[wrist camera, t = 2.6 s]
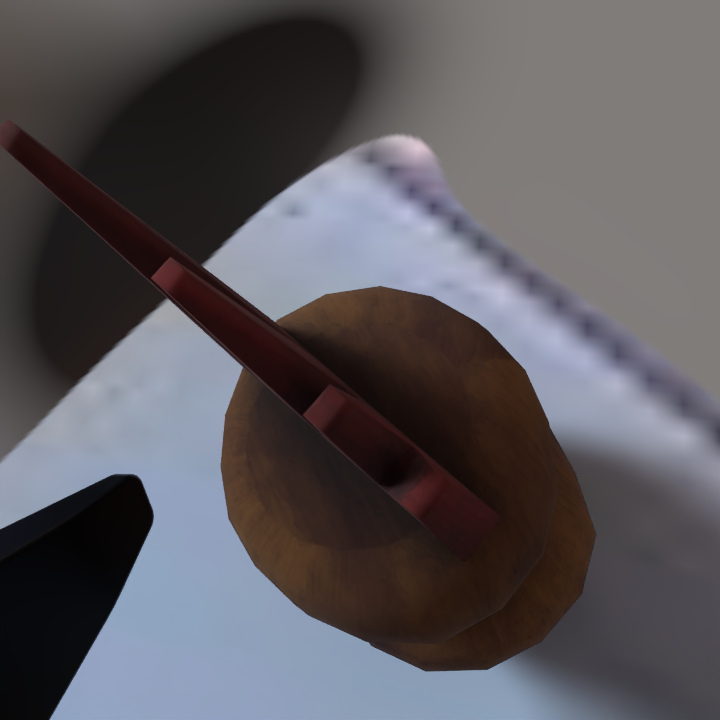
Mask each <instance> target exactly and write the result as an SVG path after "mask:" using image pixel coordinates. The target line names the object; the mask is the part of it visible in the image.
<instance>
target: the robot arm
mask: <svg viewBox="0 0 720 720" xmlns="http://www.w3.org/2000/svg"><path fill="white" fill-rule="evenodd" d="M153 518H154V514H153V509H152V507H151V504H150V501H149V499H148V496H147V494H146V491H145V489H144V486H143V483H142V481H141V479H140V478H139V477H138V476H136V475H134V474H114V475H111V476H109V477H107V478H105V479H103V480H101V481H99V482H97V483H94V484H92V485H90V486H88V487H86V488H84V489H82V490H80V491H78V492H76V493H74V494H72V495H70V496H68V497H66V498H64V499H62V500H60V501H58V502H56V503H53V504H51V505H49V506H47V507H45V508H43V509H41V510H39V511H37V512H35V513H33V514H31V515H29V516H27V517H25V518H23V519H21V520H19V521H17V522H15V523H12V524H10V525H8V526H6V527H4V528H2V529H0V720H50V718H51V716H52V715H53V713H54V711H55V709H56V708H57V706H58V704H59V702H60V701H61V699H62V697H63V695H64V694H65V692H66V690H67V689H68V687H69V685H70V683H71V682H72V680H73V678H74V676H75V675H76V673H77V671H78V669H79V668H80V666H81V664H82V662H83V661H84V659H85V657H86V655H87V654H88V652H89V650H90V648H91V647H92V645H93V643H94V642H95V640H96V638H97V636H98V635H99V633H100V631H101V629H102V628H103V626H104V624H105V622H106V621H107V619H108V617H109V615H110V613H111V612H112V610H113V608H114V606H115V604H116V602H117V600H118V598H119V596H120V594H121V592H122V590H123V587H124V585H125V583H126V581H127V579H128V577H129V574H130V572H131V570H132V568H133V566H134V564H135V561H136V559H137V557H138V555H139V553H140V551H141V549H142V546H143V544H144V542H145V540H146V538H147V536H148V533H149V531H150V529H151V527H152V524H153Z"/></svg>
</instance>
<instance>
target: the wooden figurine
mask: <svg viewBox="0 0 720 720" xmlns="http://www.w3.org/2000/svg"><path fill="white" fill-rule="evenodd" d="M0 146H1V147H2V148H4V149H5V150H6V151H7V152H8V153H9V154H10V155H11V156H12V157H13V158H15V159H16V160H17V161H18V162H19V163H20V164H21V165H22V166H24V167H25V168H26V169H27V170H28V171H29V172H30V173H31V174H32V175H33V176H34V177H35V178H36V179H38V180H39V181H40V182H41V183H42V184H43V185H44V186H45V187H46V188H47V189H48V190H50V191H51V192H52V193H53V194H54V195H55V196H56V197H57V198H58V199H59V200H61V201H62V202H63V203H64V204H65V205H66V206H67V207H68V208H69V209H71V211H73V212H74V213H75V214H76V215H77V216H78V217H79V218H80V219H81V220H82V221H84V222H85V223H86V224H87V225H88V226H89V227H90V228H91V229H92V230H93V231H95V232H96V233H97V234H98V235H99V236H100V237H101V238H102V239H103V240H104V241H105V242H107V243H108V244H109V245H110V246H111V247H112V248H113V249H114V250H115V251H116V252H118V253H119V254H120V255H121V256H122V257H123V258H124V259H125V260H126V261H127V262H128V263H130V264H131V265H132V266H133V267H134V268H135V269H136V270H137V271H138V272H139V273H141V274H142V275H143V276H144V277H145V278H146V279H147V280H148V281H149V282H151V284H153V285H154V286H155V287H156V288H157V289H158V290H159V291H160V292H161V293H163V294H164V295H165V296H166V297H167V298H168V299H169V300H170V301H171V302H172V303H173V304H175V305H176V306H177V307H178V308H179V309H180V310H181V311H182V312H183V313H184V314H185V315H187V316H188V317H189V318H190V319H191V320H192V321H193V322H194V323H195V324H196V325H198V326H199V327H200V328H201V329H202V330H203V331H204V332H205V333H206V334H207V335H208V336H210V337H211V338H212V339H213V340H214V341H215V342H216V343H217V344H218V345H219V346H221V347H222V348H223V349H224V350H225V351H226V352H227V353H228V354H229V355H230V356H232V357H233V358H234V359H235V360H236V361H237V362H238V363H239V364H240V365H241V366H243V369H242V372H241V374H240V377H239V380H238V382H237V385H236V388H235V390H234V393H233V396H232V398H231V401H230V404H229V406H228V409H227V412H226V414H225V424H224V435H223V446H222V457H221V472H222V479H223V485H224V492H225V498H226V505H227V511H228V518H229V520H230V522H231V524H232V526H233V528H234V529H235V531H236V533H237V535H238V537H239V538H240V540H241V542H242V544H243V545H244V547H245V549H246V551H247V553H248V554H249V556H250V558H251V560H252V561H253V563H254V565H255V566H256V567H257V568H258V569H259V570H260V571H261V572H262V573H263V574H264V575H265V576H266V577H267V578H268V579H269V580H270V581H271V582H272V583H273V584H274V585H275V586H276V587H277V588H278V589H279V590H280V591H281V592H282V593H283V594H284V595H285V596H286V597H288V598H289V599H290V600H291V601H292V602H293V603H294V604H295V605H296V606H297V607H298V608H300V609H301V610H302V611H303V612H305V613H306V614H307V615H309V616H311V617H313V618H315V619H317V620H320V621H322V622H324V623H326V624H328V625H331V626H333V627H335V628H337V629H339V630H342V631H344V632H346V633H348V634H350V635H353V636H355V637H357V638H359V639H362V640H364V641H366V642H369V643H370V645H371V646H373V647H375V648H377V649H379V650H381V651H383V652H386V653H388V654H390V655H392V656H394V657H396V658H398V659H400V660H403V661H405V662H407V663H409V664H411V665H413V666H415V667H417V668H420V669H422V670H424V671H460V670H488V669H490V668H492V667H494V666H495V665H497V664H499V663H501V662H503V661H505V660H507V659H509V658H511V657H513V656H515V655H517V654H519V653H520V652H522V651H524V650H526V649H528V648H530V647H532V646H534V645H536V644H538V643H540V642H541V641H542V640H543V639H544V638H545V636H546V635H547V634H548V633H549V632H550V631H551V629H552V628H553V627H554V626H555V625H556V624H557V622H558V621H559V620H560V619H561V618H562V617H563V615H564V614H565V613H566V612H567V611H568V609H569V608H570V607H571V606H572V605H573V604H574V602H575V601H576V600H577V599H578V598H579V597H580V595H581V594H582V591H583V586H584V582H585V578H586V574H587V570H588V566H589V562H590V558H591V554H592V550H593V546H594V541H595V537H596V533H595V530H594V527H593V524H592V521H591V518H590V515H589V512H588V509H587V506H586V503H585V500H584V497H583V495H582V492H581V489H580V486H579V483H578V480H577V477H576V474H575V472H574V470H573V468H572V466H571V465H570V463H569V461H568V459H567V457H566V456H565V454H564V452H563V450H562V448H561V447H560V445H559V443H558V441H557V439H556V438H555V436H554V434H553V432H552V430H551V429H550V427H549V422H548V419H547V417H546V415H545V413H544V410H543V408H542V406H541V404H540V402H539V399H538V397H537V395H536V393H535V391H534V388H533V386H532V384H531V382H530V380H529V377H528V375H527V373H526V371H525V369H524V368H523V367H522V366H521V365H520V364H519V363H518V362H517V361H516V360H515V359H514V358H513V357H512V356H511V355H510V354H509V352H508V351H507V350H506V349H505V348H504V347H503V346H502V345H501V344H500V343H499V342H498V341H497V340H496V339H495V338H494V337H493V335H492V334H491V333H490V332H489V331H488V330H487V329H485V328H484V327H483V326H481V325H480V324H479V323H478V322H476V321H474V320H473V319H471V318H469V317H467V316H465V315H464V314H462V313H460V312H458V311H456V310H455V309H453V308H451V307H449V306H448V305H446V304H444V303H442V302H440V301H439V300H437V299H435V298H433V297H431V296H427V295H422V294H417V293H412V292H407V291H402V290H397V289H392V288H387V287H382V286H378V287H372V288H365V289H358V290H352V291H345V292H338V293H332V294H326V295H324V296H322V297H320V298H318V299H316V300H314V301H312V302H311V303H309V304H307V305H305V306H303V307H301V308H299V309H297V310H295V311H293V312H292V313H290V314H288V315H286V316H284V317H282V318H280V319H278V320H277V321H276V323H275V322H274V321H273V320H271V319H270V318H269V317H268V316H266V315H265V314H264V313H262V312H261V311H260V310H258V309H257V308H256V307H254V306H253V305H252V304H251V303H249V302H248V301H247V300H245V299H244V298H243V297H241V296H240V295H239V294H238V293H236V292H235V291H234V290H232V289H231V288H230V287H228V286H227V285H226V284H224V283H223V282H222V281H221V280H219V279H218V278H217V277H215V276H214V275H213V274H211V273H210V272H209V271H207V270H206V269H205V268H203V267H202V266H201V265H200V264H198V263H197V262H196V261H194V260H193V259H192V258H190V257H189V256H188V255H186V254H185V253H184V252H182V251H181V250H180V249H179V248H177V247H176V246H175V245H173V244H172V243H171V242H169V241H168V240H167V239H165V238H164V237H163V236H161V235H160V234H159V233H157V232H156V231H155V230H154V229H152V228H151V227H150V226H148V225H147V224H146V223H144V222H143V221H142V220H141V219H139V218H138V217H137V216H135V215H134V214H133V213H131V212H130V211H129V210H127V209H126V208H125V207H123V206H122V205H121V204H120V203H118V202H117V201H116V200H114V199H113V198H112V197H110V196H109V195H108V194H106V193H105V192H104V191H103V190H101V189H100V188H99V187H97V186H96V185H95V184H93V183H92V182H91V181H89V180H88V179H87V178H85V177H84V176H83V175H81V174H80V173H79V172H78V171H76V170H75V169H74V168H72V167H71V166H70V165H68V164H67V163H66V162H64V161H63V160H62V159H61V158H59V157H58V156H57V155H55V154H54V153H53V152H51V151H50V150H49V149H47V148H46V147H45V146H44V145H42V144H41V143H39V142H38V141H37V140H36V139H34V138H33V137H32V136H30V135H29V134H28V133H26V132H25V131H24V130H22V129H21V128H20V127H18V126H17V125H16V124H14V123H13V122H12V121H10V120H9V119H7V120H6V121H5V122H4V123H3V124H2V125H1V126H0Z"/></svg>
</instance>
